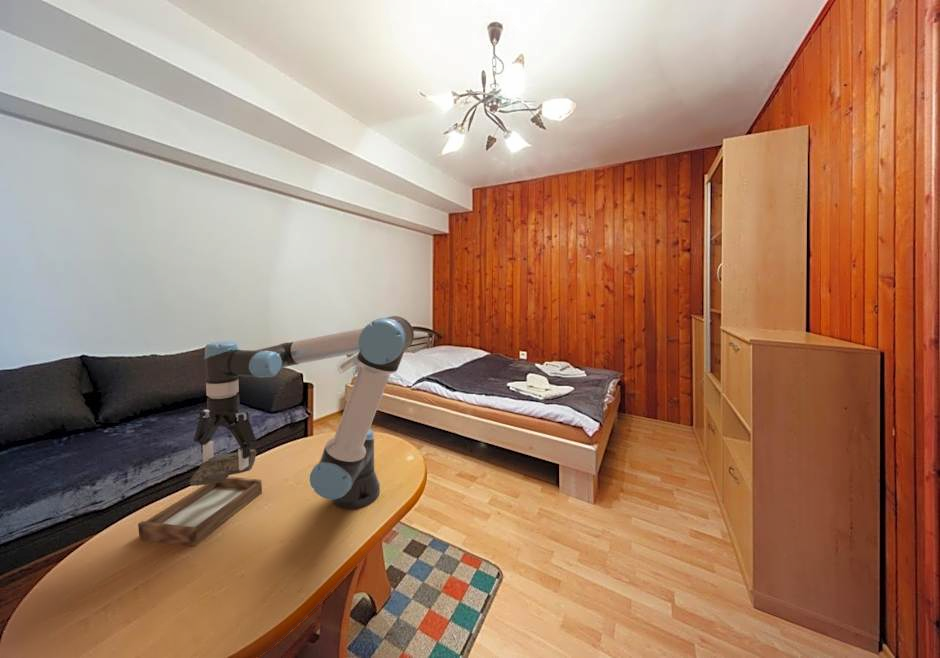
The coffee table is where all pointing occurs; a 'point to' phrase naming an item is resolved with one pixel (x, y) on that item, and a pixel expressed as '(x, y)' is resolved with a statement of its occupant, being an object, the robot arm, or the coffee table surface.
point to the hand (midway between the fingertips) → (226, 465)
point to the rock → (220, 468)
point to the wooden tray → (200, 512)
